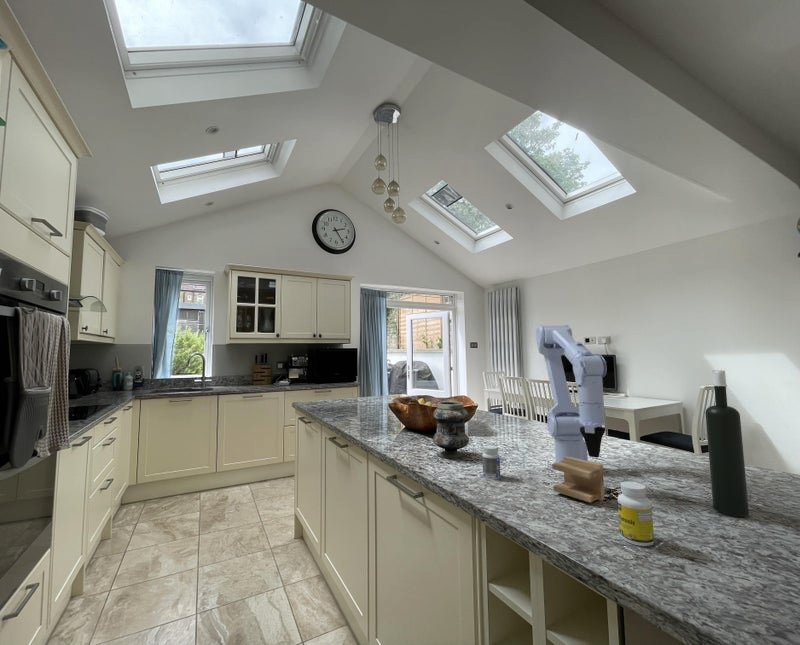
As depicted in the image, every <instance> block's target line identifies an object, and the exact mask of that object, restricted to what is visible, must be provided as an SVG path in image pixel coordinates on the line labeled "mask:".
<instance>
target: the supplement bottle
mask: <svg viewBox="0 0 800 645" xmlns="http://www.w3.org/2000/svg"><path fill="white" fill-rule="evenodd" d="M620 491H621V492H622V493H621V494H618V495H617V511H618V512H617V513H618V528H619V535H620V538H622V540H624V541H625V542H627V543H629V544H632V545H635V546H638V547H649V546H653V545H654V543H655V535H654V534H655V531H654V516H653V507H652V506H653V505H652V504H653V503H652V501H651V500H650V499H649V498H648V497H647V487H646V486H645V485H644V484H642V483H639V482H635V481H622V482H621V483H620Z"/></svg>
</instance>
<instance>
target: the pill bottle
mask: <svg viewBox="0 0 800 645" xmlns="http://www.w3.org/2000/svg"><path fill="white" fill-rule="evenodd" d="M482 449H483V453H482V456H481V457H482V477H483V478H484V479H486V480H492V481H493V480H496V481H497V480H499V479H501V461H500V459H501V457H500V454H499V447H498V446H496V445H492V444H490V445H484V446H483V448H482Z"/></svg>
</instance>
